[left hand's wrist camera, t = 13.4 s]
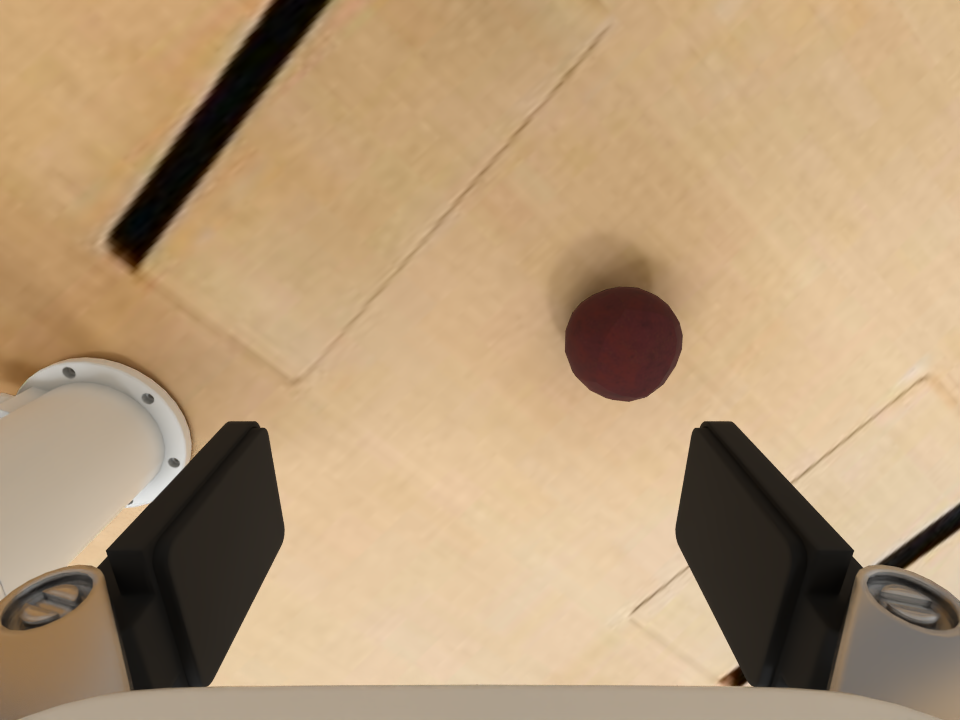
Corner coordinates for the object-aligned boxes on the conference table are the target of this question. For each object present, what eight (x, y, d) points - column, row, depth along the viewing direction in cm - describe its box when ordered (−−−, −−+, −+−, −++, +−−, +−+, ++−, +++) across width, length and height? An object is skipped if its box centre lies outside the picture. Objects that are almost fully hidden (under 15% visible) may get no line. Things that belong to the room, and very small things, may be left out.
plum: (673, 289, 37) (718, 317, 30) (635, 386, 39) (669, 431, 33) (575, 264, 36) (599, 288, 29) (543, 365, 39) (559, 407, 32)
